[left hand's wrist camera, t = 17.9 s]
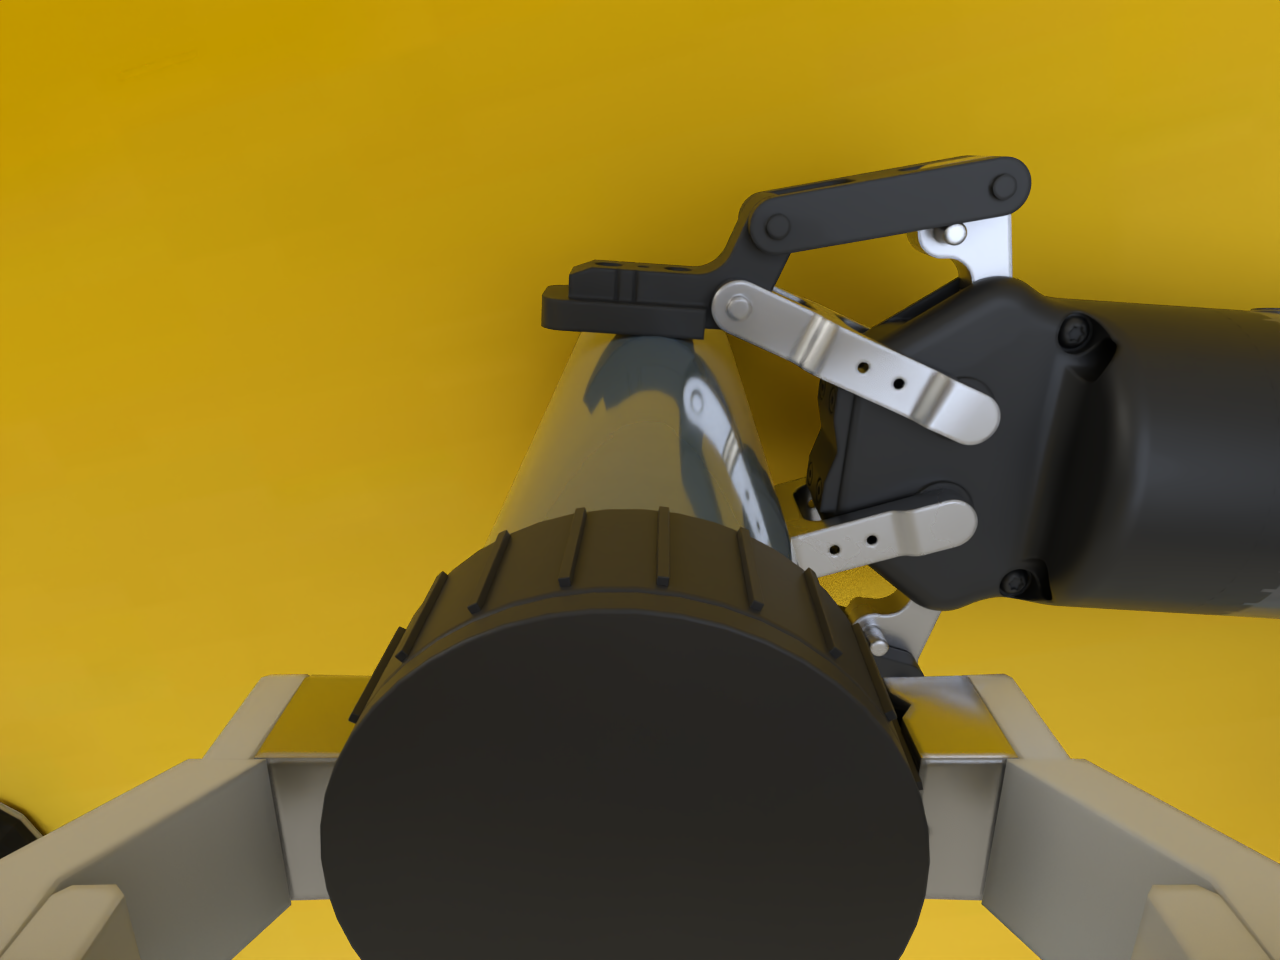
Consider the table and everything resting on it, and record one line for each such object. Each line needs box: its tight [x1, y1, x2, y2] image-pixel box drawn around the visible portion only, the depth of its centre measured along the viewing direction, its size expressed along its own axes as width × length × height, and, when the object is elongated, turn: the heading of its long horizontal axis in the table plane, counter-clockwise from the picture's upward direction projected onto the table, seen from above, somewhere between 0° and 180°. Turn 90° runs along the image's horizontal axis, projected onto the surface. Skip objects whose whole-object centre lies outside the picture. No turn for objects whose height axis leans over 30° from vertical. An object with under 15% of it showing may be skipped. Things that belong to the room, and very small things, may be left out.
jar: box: [484, 329, 800, 567], centre depth 18 cm, size 5×5×20 cm
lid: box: [320, 506, 930, 960], centre depth 9 cm, size 6×6×2 cm
